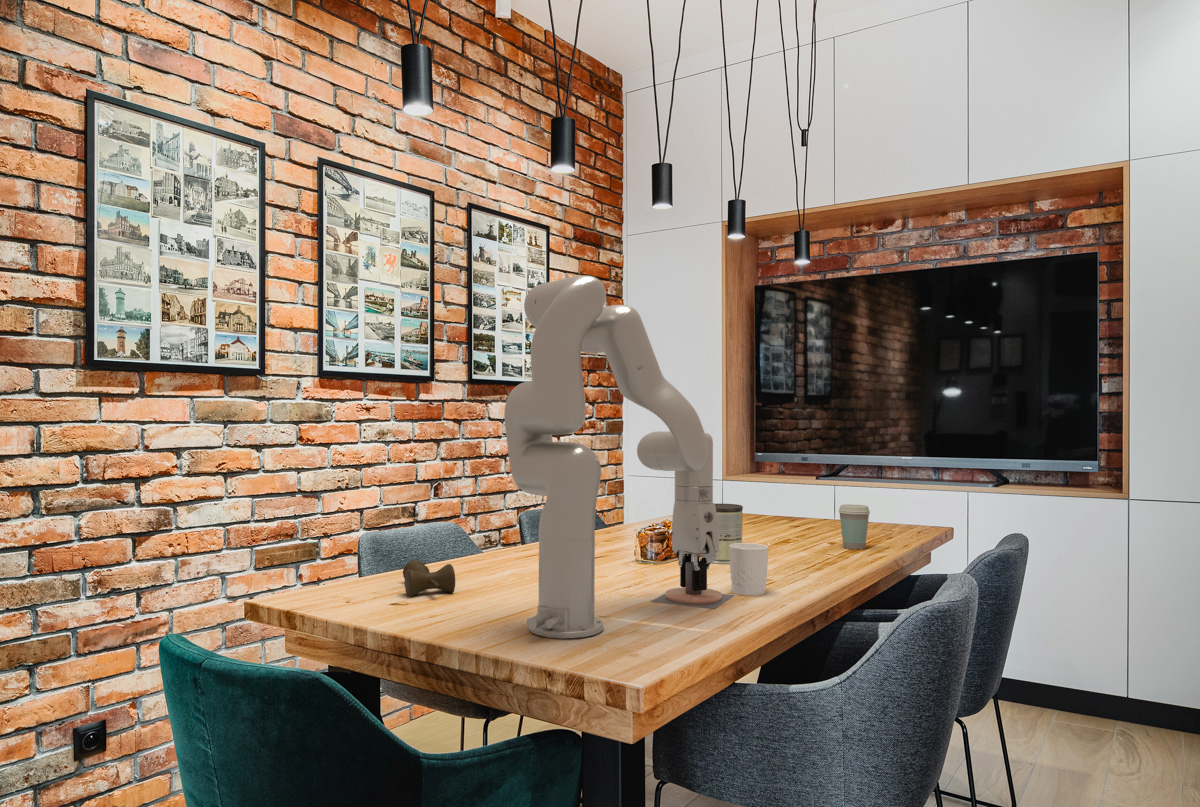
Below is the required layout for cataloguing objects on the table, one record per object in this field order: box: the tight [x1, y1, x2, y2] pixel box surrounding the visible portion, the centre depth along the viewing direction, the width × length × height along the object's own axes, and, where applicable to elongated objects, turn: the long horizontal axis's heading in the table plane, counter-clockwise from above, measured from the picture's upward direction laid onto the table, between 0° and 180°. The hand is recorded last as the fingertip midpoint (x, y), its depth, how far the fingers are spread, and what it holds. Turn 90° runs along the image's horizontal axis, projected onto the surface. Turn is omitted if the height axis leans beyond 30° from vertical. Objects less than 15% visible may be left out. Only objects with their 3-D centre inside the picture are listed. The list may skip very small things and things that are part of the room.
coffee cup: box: [838, 504, 871, 551], centre depth 221 cm, size 8×8×12 cm
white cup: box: [729, 542, 769, 597], centre depth 160 cm, size 8×8×10 cm
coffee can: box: [711, 503, 744, 565], centre depth 200 cm, size 10×10×14 cm
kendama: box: [402, 560, 456, 598], centre depth 162 cm, size 6×10×20 cm
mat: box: [649, 592, 736, 610], centre depth 153 cm, size 13×13×1 cm
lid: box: [665, 560, 723, 605], centre depth 153 cm, size 11×11×7 cm
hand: (693, 587), depth 153 cm, fingers closed on lid, 3 cm apart
